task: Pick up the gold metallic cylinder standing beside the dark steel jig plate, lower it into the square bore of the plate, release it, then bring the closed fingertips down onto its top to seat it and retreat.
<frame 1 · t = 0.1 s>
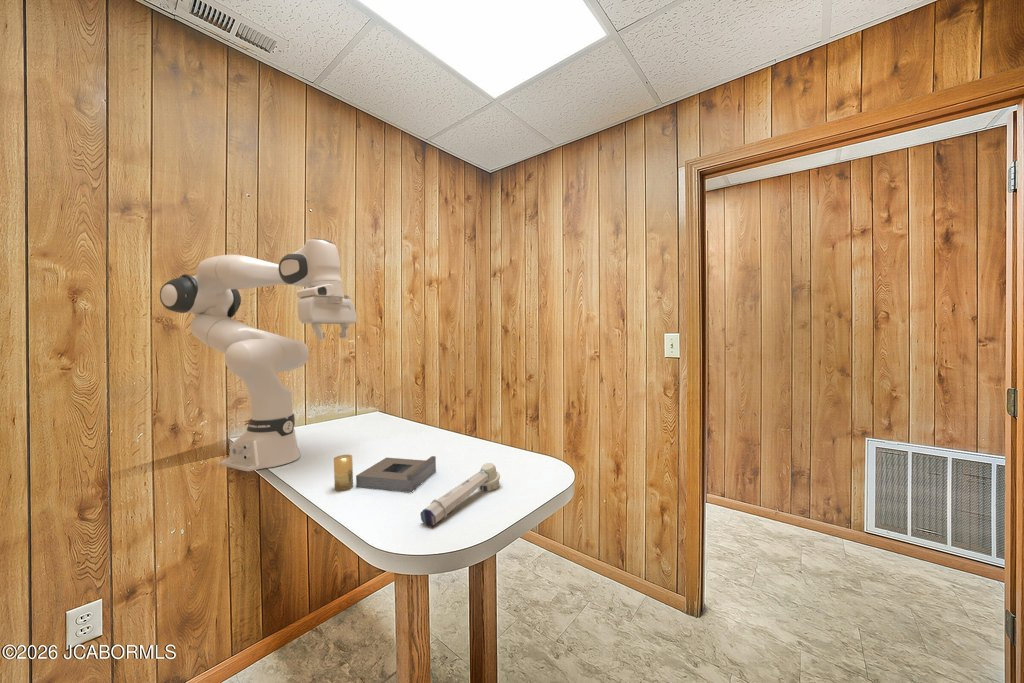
hand: (332, 338, 111), 39 cm above the table, tool pointing down, fingers open, 8 cm apart
jig: (398, 478, 101), on the table
beige piece: (465, 504, 87), on the table
gold metallic cylinder: (344, 487, 96), on the table
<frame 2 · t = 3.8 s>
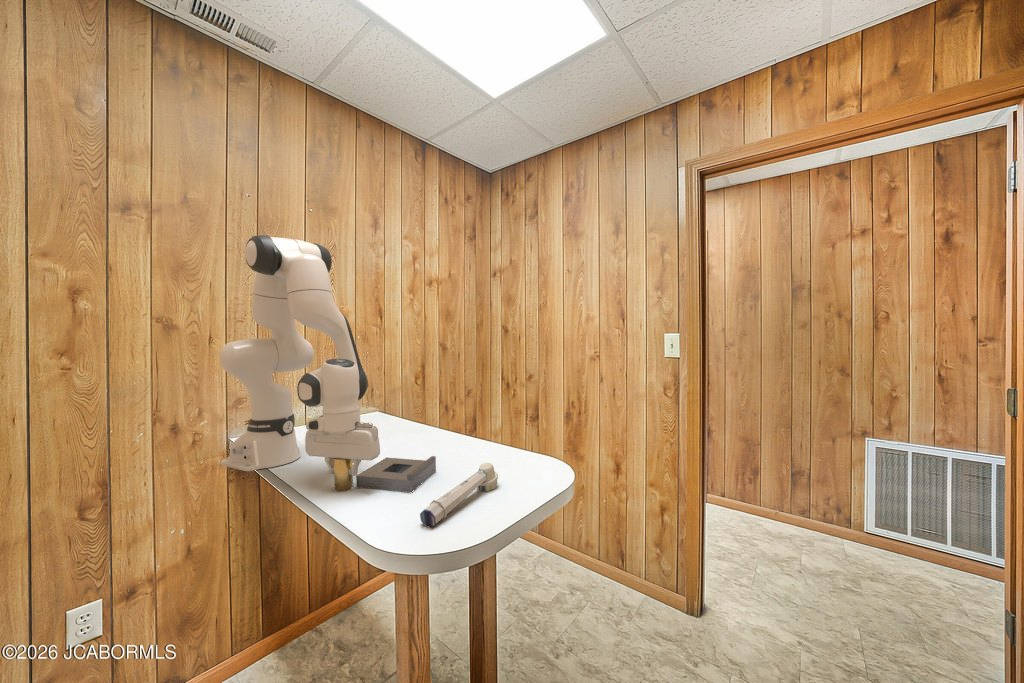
hand: (343, 473, 96), 4 cm above the table, tool pointing down, fingers closed on gold metallic cylinder, 4 cm apart
gold metallic cylinder: (343, 487, 96), on the table, touching gripper
everything else where it was.
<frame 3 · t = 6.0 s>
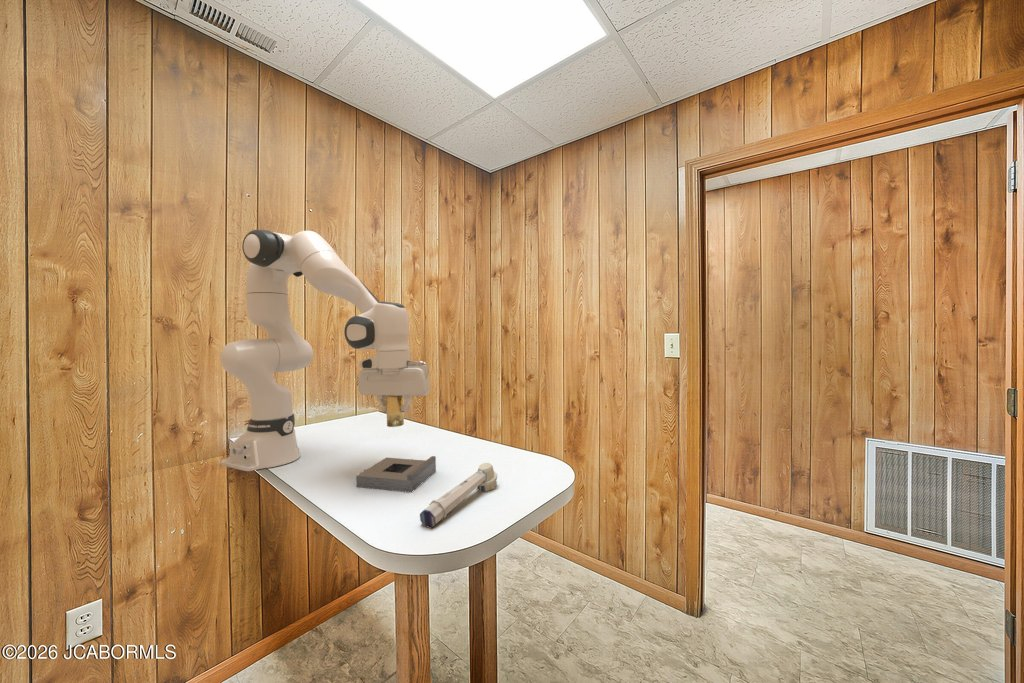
hand: (395, 411, 100), 19 cm above the table, tool pointing down, fingers closed on gold metallic cylinder, 4 cm apart
gold metallic cylinder: (395, 424, 100), point 15 cm above the table, touching gripper
everything else where it was.
when the fingers open (6 cm above the table, at t = 8.3 s): gold metallic cylinder drops 2 cm, resting in jig.
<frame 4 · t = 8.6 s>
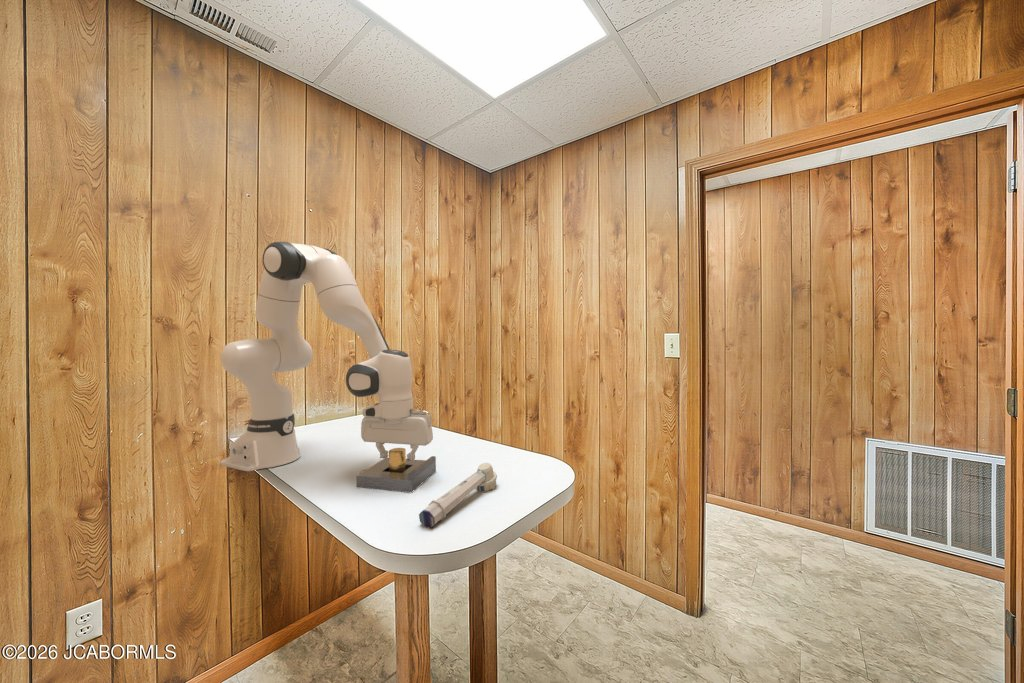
hand: (397, 458, 101), 6 cm above the table, tool pointing down, fingers open, 7 cm apart
gold metallic cylinder: (397, 479, 101), resting in jig
everything else where it was.
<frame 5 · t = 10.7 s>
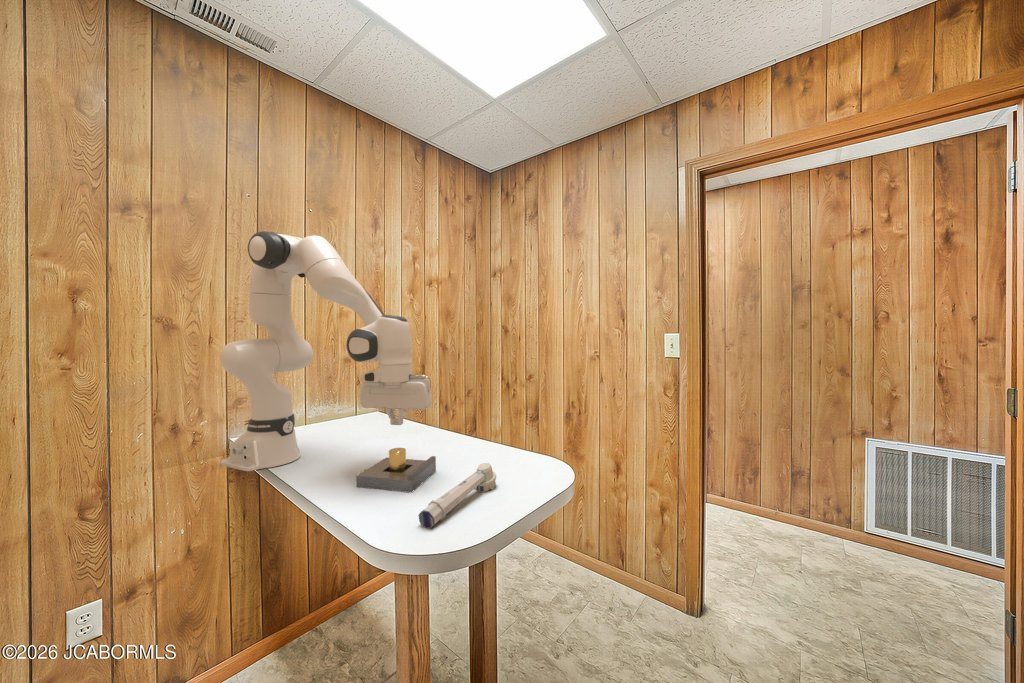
hand: (396, 424, 101), 15 cm above the table, tool pointing down, fingers closed
nothing on the table moved.
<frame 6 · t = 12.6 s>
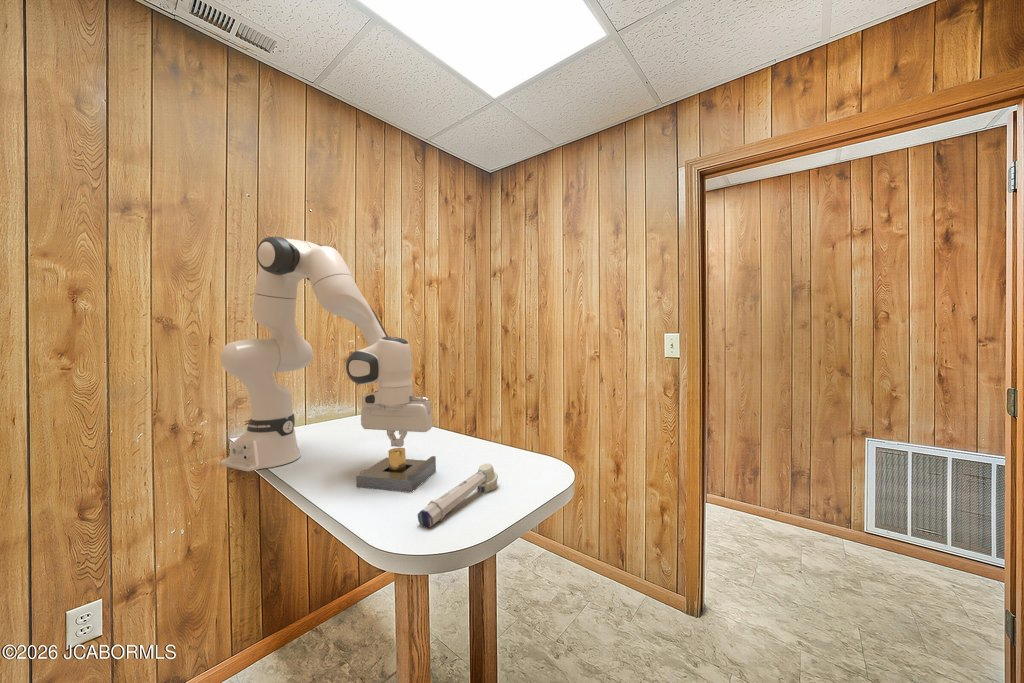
hand: (397, 446, 101), 9 cm above the table, tool pointing down, fingers closed
nothing on the table moved.
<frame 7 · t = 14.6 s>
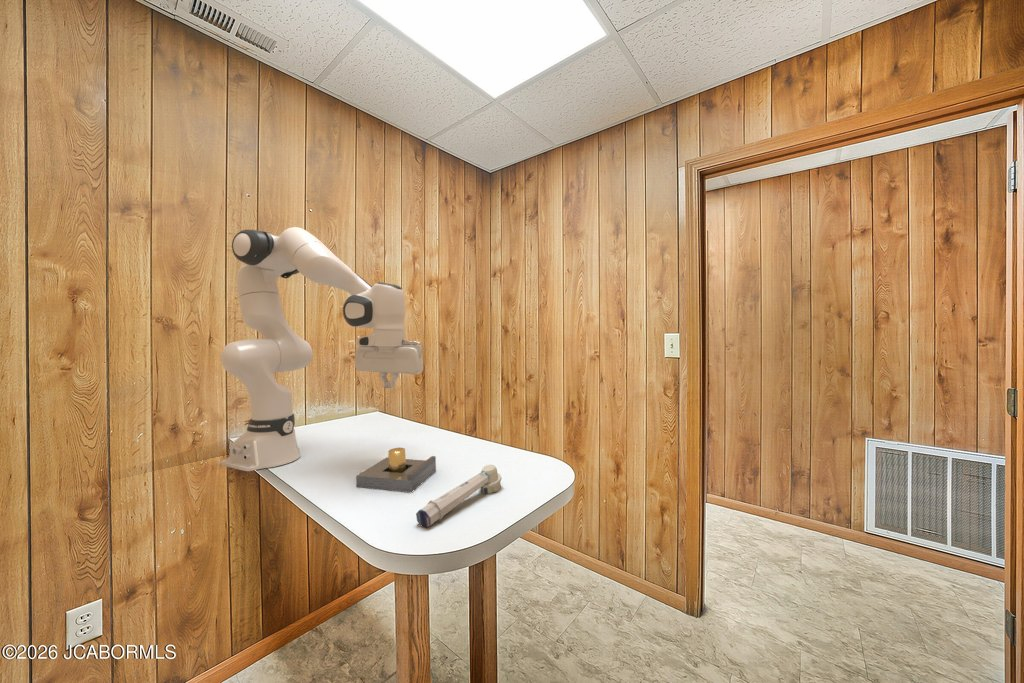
hand: (389, 388, 106), 24 cm above the table, tool pointing down, fingers closed
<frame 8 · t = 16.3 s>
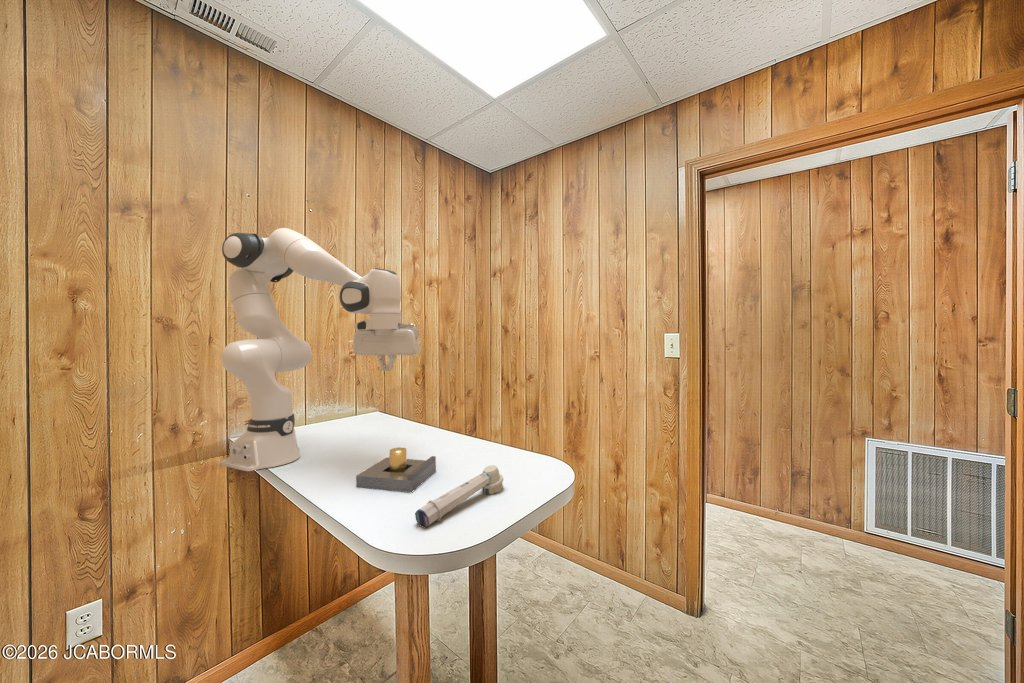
hand: (387, 370, 109), 29 cm above the table, tool pointing down, fingers closed
at the end: gold metallic cylinder 0.1 cm off-centre on the jig, point 0.0 cm above the jig's base; gold metallic cylinder tilted 2°; the gripper is holding nothing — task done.
